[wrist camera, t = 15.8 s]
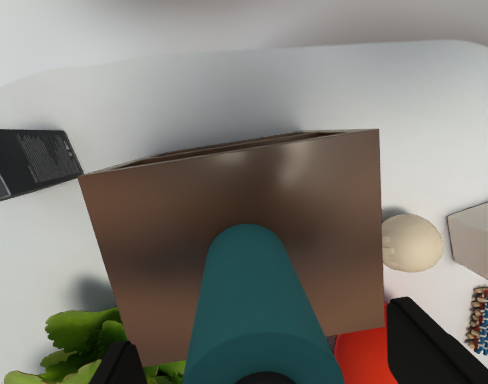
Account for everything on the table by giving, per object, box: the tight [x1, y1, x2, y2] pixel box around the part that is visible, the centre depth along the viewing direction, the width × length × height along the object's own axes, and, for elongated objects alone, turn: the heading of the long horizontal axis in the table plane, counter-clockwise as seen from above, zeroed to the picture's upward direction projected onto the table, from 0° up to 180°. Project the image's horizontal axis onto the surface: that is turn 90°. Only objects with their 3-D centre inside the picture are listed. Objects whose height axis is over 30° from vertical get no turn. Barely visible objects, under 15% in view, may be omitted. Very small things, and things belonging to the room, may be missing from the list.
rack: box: [78, 129, 385, 367], centre depth 24 cm, size 14×18×16 cm
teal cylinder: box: [182, 224, 345, 384], centre depth 12 cm, size 5×5×9 cm
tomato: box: [334, 303, 398, 384], centre depth 32 cm, size 13×12×11 cm
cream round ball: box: [382, 214, 443, 272], centre depth 31 cm, size 7×7×7 cm
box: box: [0, 129, 84, 201], centre depth 25 cm, size 8×6×11 cm
